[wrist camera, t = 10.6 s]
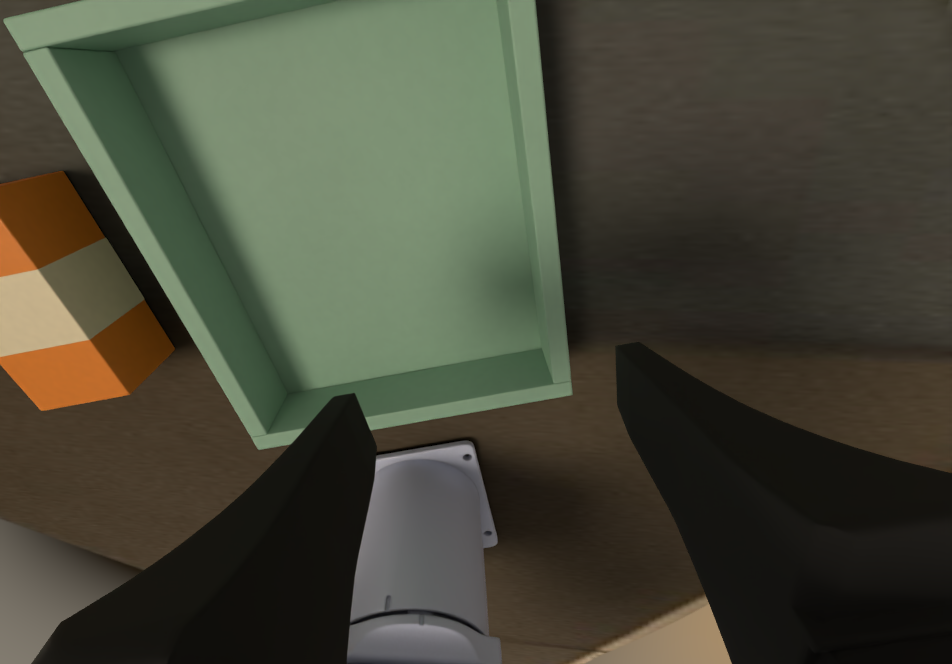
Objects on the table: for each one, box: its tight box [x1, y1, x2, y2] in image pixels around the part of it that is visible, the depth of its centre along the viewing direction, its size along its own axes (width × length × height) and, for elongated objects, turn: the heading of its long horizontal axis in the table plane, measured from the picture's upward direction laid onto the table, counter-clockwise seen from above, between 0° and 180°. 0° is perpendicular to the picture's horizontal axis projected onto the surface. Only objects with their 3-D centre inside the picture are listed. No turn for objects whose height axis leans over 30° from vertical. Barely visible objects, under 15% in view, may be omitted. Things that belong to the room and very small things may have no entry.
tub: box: [3, 0, 573, 450], centre depth 18 cm, size 17×15×4 cm
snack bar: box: [0, 171, 175, 411], centre depth 18 cm, size 8×4×4 cm, turn 10°
